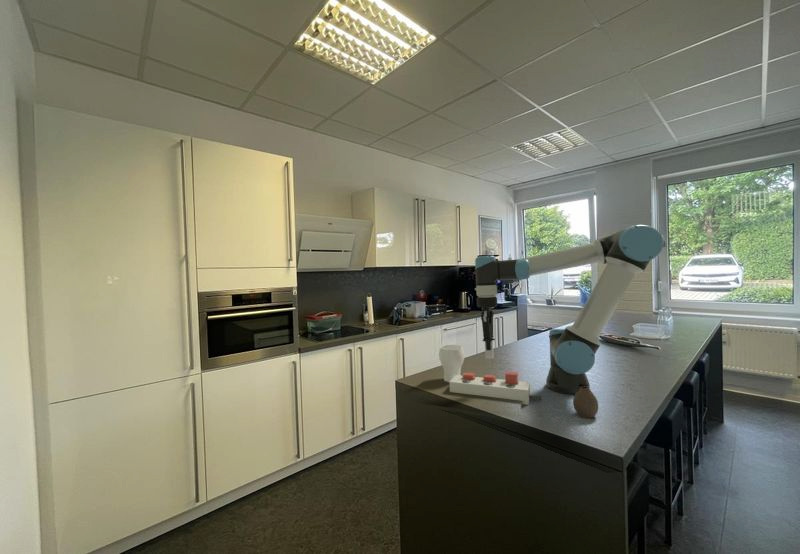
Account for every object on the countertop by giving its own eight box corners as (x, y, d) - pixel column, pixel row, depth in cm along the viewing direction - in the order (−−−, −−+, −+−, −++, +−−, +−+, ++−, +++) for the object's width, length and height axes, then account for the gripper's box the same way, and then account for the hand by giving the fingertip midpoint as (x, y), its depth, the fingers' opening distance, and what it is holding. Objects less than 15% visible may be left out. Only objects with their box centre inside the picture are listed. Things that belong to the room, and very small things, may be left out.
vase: (568, 411, 104) (567, 384, 104) (588, 409, 105) (587, 383, 105) (582, 420, 98) (581, 392, 98) (604, 419, 98) (603, 390, 98)
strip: (541, 397, 117) (541, 382, 117) (541, 406, 109) (540, 391, 109) (456, 387, 131) (455, 374, 131) (449, 394, 123) (449, 381, 123)
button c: (475, 382, 127) (474, 373, 127) (473, 384, 124) (472, 375, 124) (465, 381, 128) (464, 372, 128) (463, 383, 125) (462, 374, 125)
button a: (517, 381, 120) (517, 372, 120) (517, 384, 117) (516, 374, 117) (506, 380, 121) (506, 371, 121) (505, 383, 119) (505, 373, 119)
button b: (495, 384, 123) (495, 375, 123) (494, 387, 120) (494, 377, 120) (485, 383, 125) (485, 374, 125) (483, 385, 122) (483, 376, 122)
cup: (465, 386, 131) (463, 350, 131) (439, 386, 133) (437, 349, 133) (465, 378, 141) (464, 344, 141) (441, 378, 143) (439, 344, 143)
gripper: (480, 295, 130) (482, 353, 130) (473, 297, 118) (476, 361, 118) (499, 295, 127) (502, 354, 127) (494, 297, 115) (497, 363, 115)
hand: (489, 358), depth 122 cm, fingers closed
